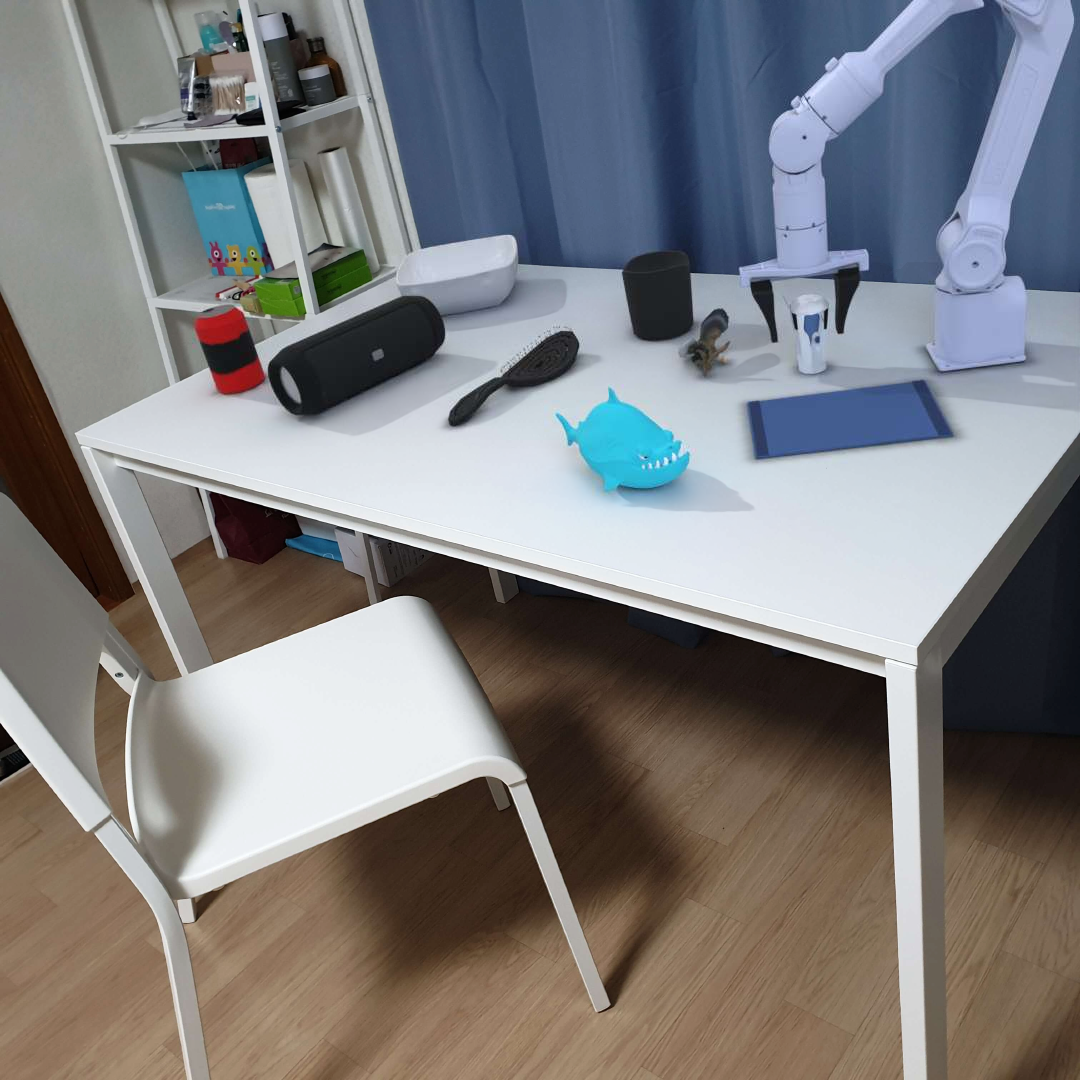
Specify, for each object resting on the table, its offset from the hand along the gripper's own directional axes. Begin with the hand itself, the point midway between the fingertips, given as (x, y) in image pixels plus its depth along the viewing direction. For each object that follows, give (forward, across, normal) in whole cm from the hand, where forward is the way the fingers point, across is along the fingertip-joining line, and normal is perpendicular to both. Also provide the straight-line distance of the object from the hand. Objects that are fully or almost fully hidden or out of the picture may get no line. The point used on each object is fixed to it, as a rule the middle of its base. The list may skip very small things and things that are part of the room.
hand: (806, 335), depth 126 cm
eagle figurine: (+5, +12, -6) cm, 14 cm away
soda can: (+5, +84, -23) cm, 87 cm away
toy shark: (+5, +22, +23) cm, 32 cm away
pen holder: (+5, +18, -21) cm, 28 cm away
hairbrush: (+5, +38, -7) cm, 39 cm away
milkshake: (+5, 0, 0) cm, 5 cm away
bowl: (+5, +52, -49) cm, 72 cm away
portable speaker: (+5, +61, -15) cm, 63 cm away
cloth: (+4, -2, +15) cm, 16 cm away
